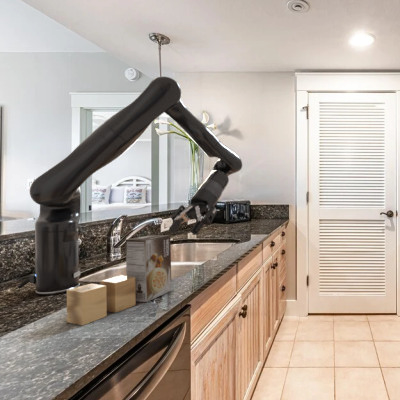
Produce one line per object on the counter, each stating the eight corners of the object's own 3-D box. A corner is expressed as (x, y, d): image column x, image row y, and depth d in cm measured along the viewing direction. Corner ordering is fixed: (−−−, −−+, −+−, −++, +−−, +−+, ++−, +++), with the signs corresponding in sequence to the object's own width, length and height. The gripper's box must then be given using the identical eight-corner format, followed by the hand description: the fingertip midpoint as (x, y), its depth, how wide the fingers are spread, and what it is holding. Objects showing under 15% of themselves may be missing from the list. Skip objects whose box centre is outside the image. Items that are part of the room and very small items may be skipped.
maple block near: (66, 322, 62) (66, 290, 62) (91, 313, 67) (91, 283, 67) (82, 325, 61) (82, 292, 61) (106, 316, 65) (106, 285, 65)
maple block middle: (100, 310, 69) (100, 280, 69) (121, 302, 74) (120, 275, 74) (115, 312, 67) (115, 282, 67) (135, 305, 72) (135, 277, 72)
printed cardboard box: (152, 289, 84) (152, 234, 84) (172, 291, 83) (171, 235, 82) (125, 301, 75) (124, 239, 75) (147, 302, 74) (146, 239, 73)
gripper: (185, 187, 100) (157, 224, 89) (219, 187, 95) (194, 225, 84) (196, 202, 105) (171, 238, 94) (229, 203, 100) (206, 241, 89)
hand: (182, 232), depth 89 cm, fingers open, 8 cm apart
